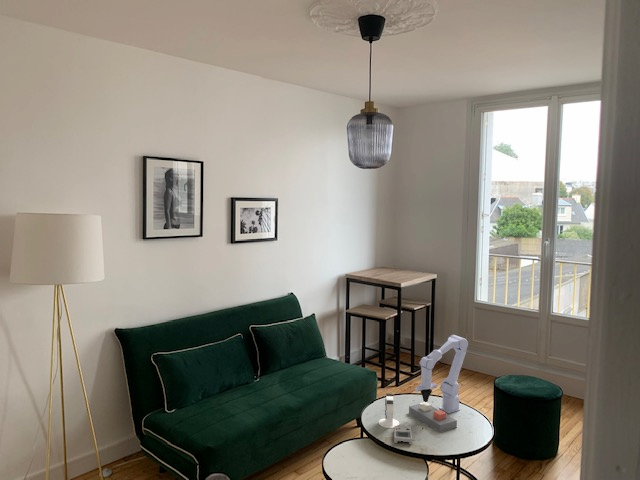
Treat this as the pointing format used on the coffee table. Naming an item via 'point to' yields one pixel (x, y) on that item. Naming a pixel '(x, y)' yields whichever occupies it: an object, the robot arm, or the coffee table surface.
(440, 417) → the red plug
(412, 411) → the console
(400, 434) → the handheld gaming device
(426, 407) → the plug
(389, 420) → the white post stand
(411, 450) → the coffee table surface
